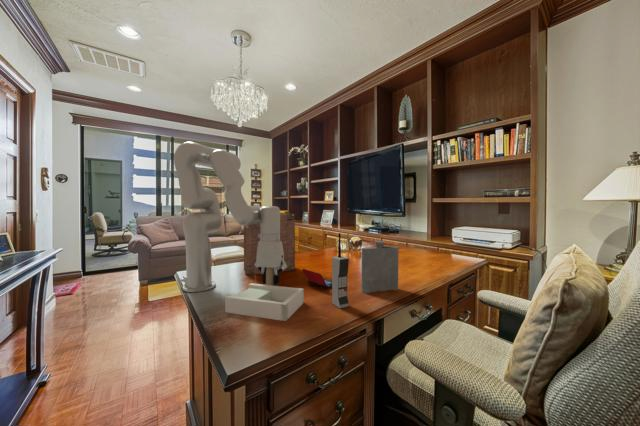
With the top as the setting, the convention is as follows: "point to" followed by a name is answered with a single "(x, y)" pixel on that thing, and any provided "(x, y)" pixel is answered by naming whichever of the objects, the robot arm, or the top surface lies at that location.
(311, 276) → the handheld game console
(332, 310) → the top surface
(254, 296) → the sage block
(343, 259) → the grey brick cell phone
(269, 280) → the handle
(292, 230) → the book
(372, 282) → the hip flask
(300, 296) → the cubby
